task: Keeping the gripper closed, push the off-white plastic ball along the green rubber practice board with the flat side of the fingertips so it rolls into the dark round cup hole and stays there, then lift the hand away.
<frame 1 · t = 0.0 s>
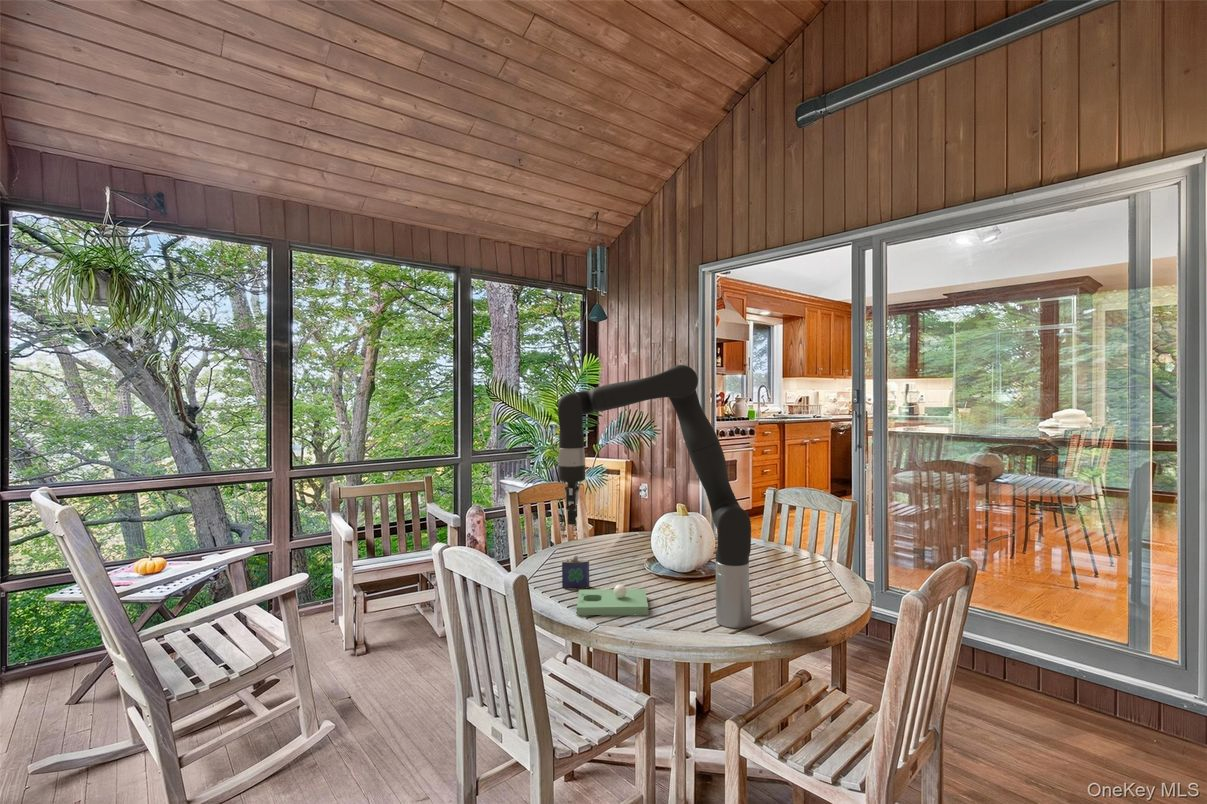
hand: (572, 520, 159), 29 cm above the table, tool pointing down, fingers open, 8 cm apart
practice board: (612, 605, 173), on the table
ball: (620, 591, 173), point 4 cm above the table, touching practice board
flask: (575, 588, 190), on the table
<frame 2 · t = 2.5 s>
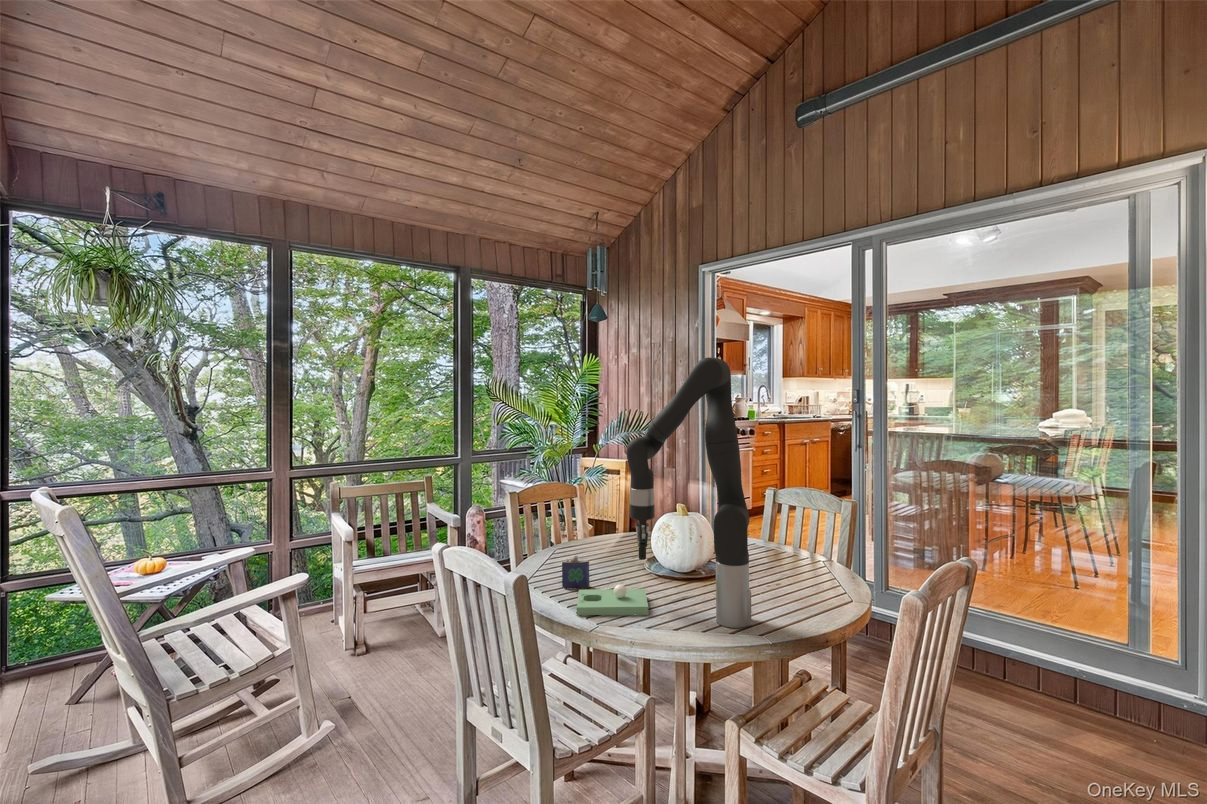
hand: (642, 558, 172), 14 cm above the table, tool pointing down, fingers closed
nothing on the table moved.
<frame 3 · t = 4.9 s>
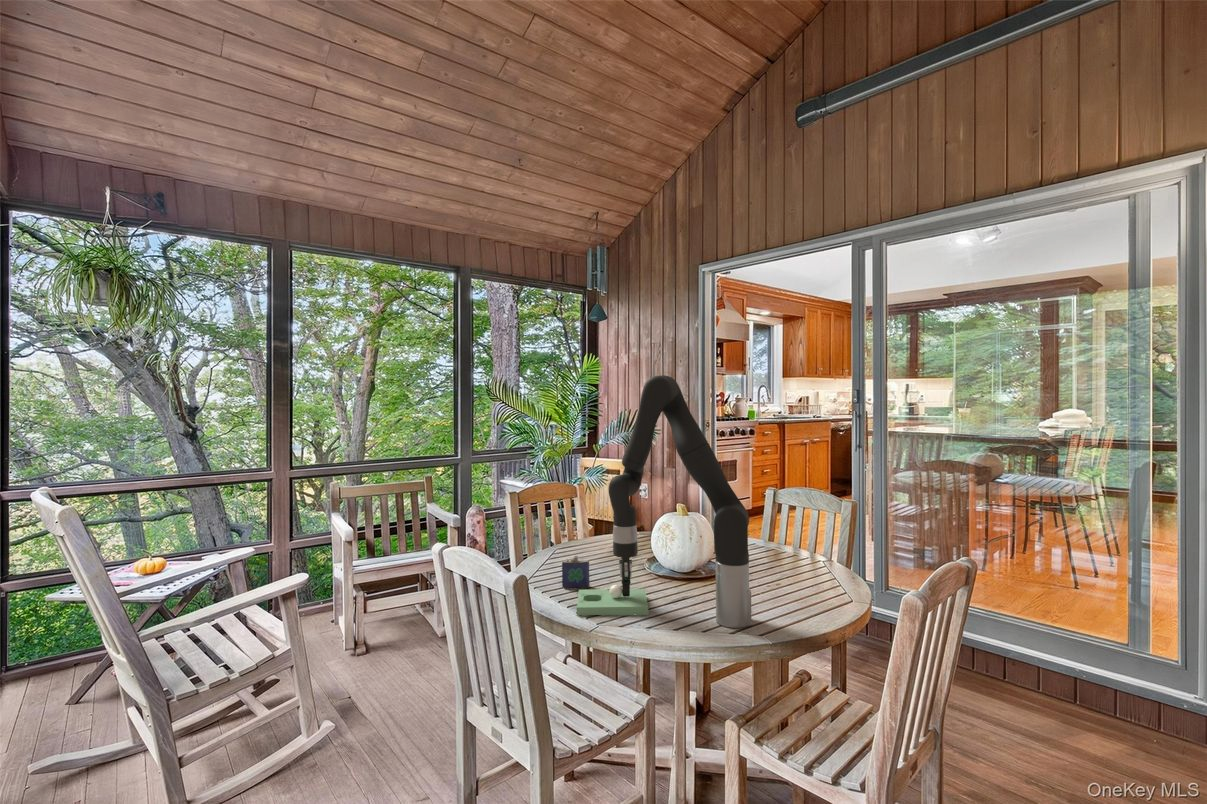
hand: (626, 595, 173), 3 cm above the table, tool pointing down, fingers closed
ball: (616, 591, 172), point 4 cm above the table, tilted 33°, touching gripper, practice board
everything else where it was.
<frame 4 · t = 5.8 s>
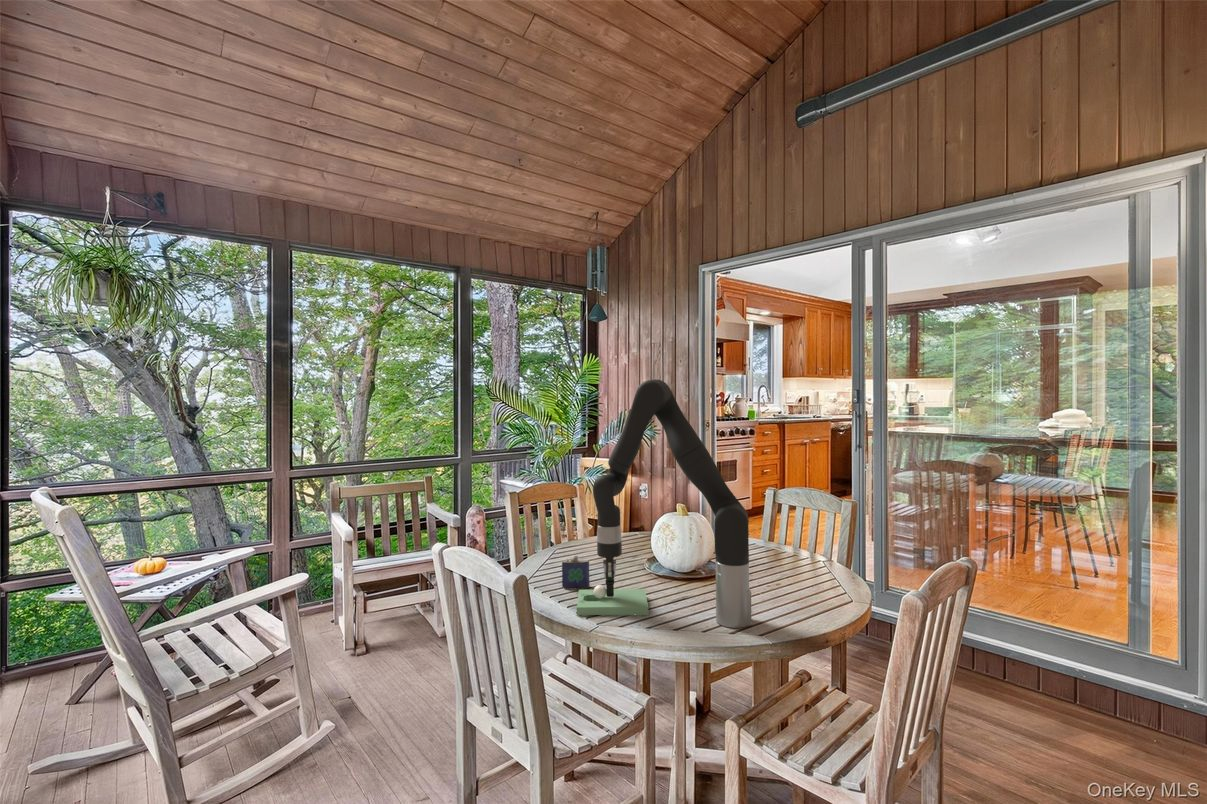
hand: (610, 595, 173), 3 cm above the table, tool pointing down, fingers closed
ball: (599, 591, 172), point 4 cm above the table, tilted 137°, touching practice board
everything else where it was.
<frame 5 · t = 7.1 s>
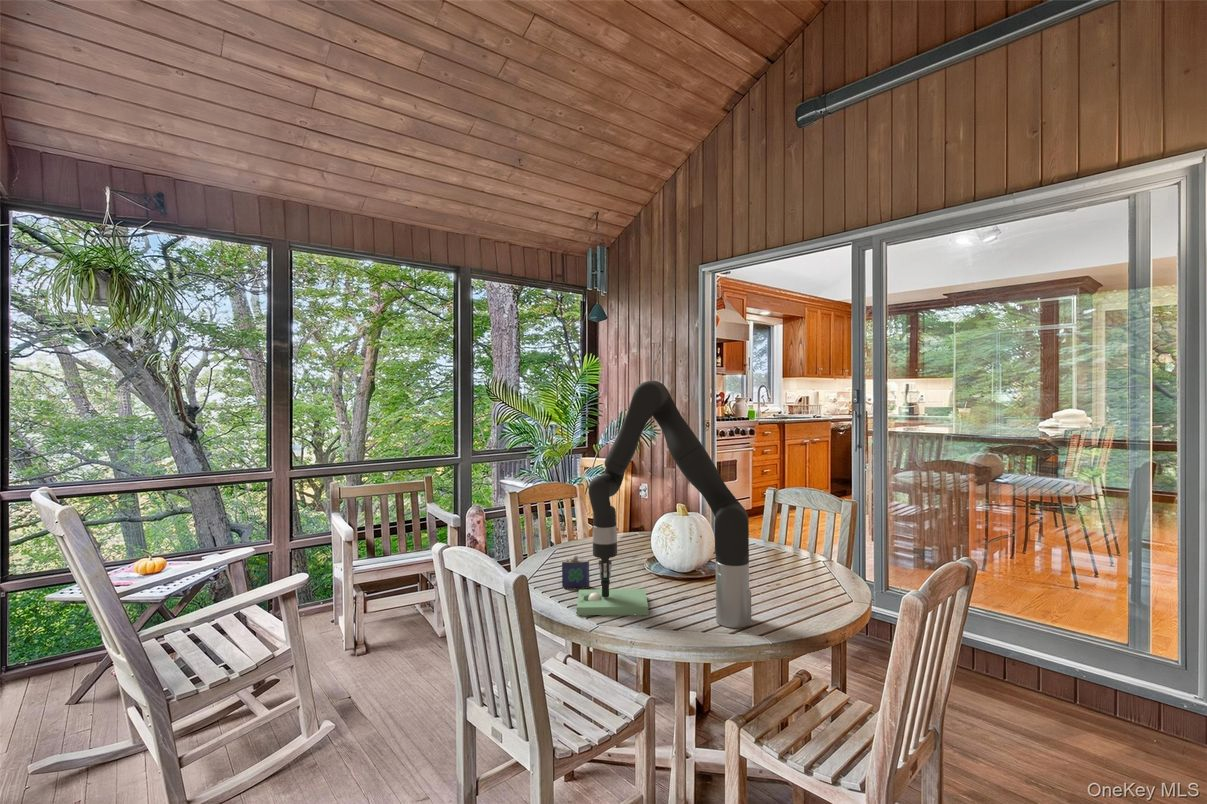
hand: (605, 596, 173), 3 cm above the table, tool pointing down, fingers closed
ball: (594, 599, 173), point 2 cm above the table, tilted 153°, touching practice board
everything else where it was.
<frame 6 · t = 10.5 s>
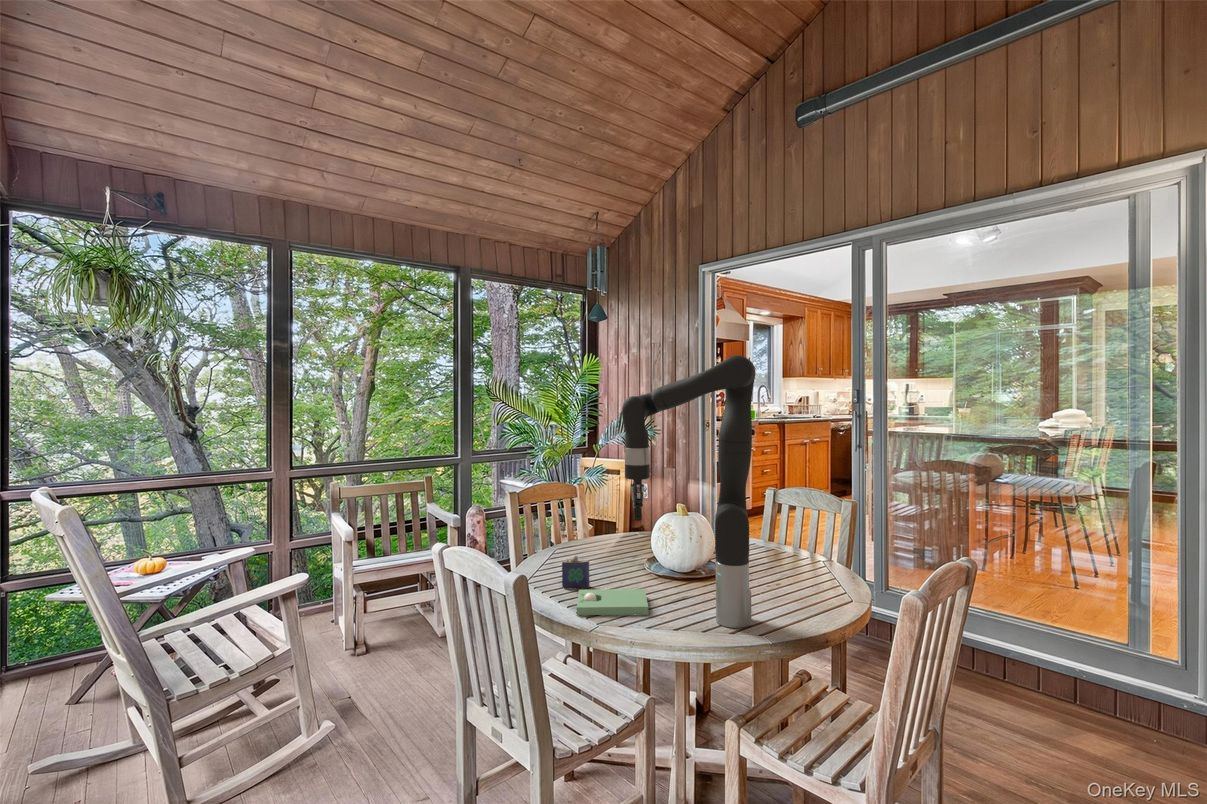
hand: (637, 520, 169), 27 cm above the table, tool pointing down, fingers closed
ball: (590, 599, 173), point 2 cm above the table, tilted 113°, touching practice board
everything else where it was.
at the end: ball 0.7 cm from the target spot on the practice board, point 2.1 cm above the practice board's base; flask moved 0.2 cm from its start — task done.
